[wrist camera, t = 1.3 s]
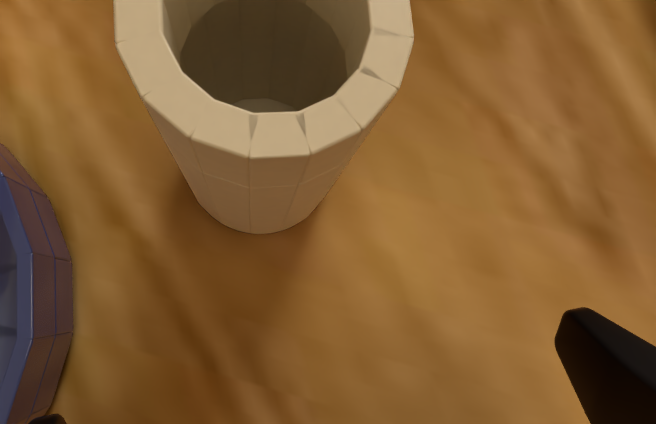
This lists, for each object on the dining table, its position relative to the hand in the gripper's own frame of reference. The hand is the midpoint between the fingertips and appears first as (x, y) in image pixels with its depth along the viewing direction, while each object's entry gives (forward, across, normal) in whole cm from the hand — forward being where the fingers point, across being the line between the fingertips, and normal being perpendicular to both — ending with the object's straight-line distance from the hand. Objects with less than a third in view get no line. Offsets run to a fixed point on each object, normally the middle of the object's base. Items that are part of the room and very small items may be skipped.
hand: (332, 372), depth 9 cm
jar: (+14, 0, +4) cm, 15 cm away
